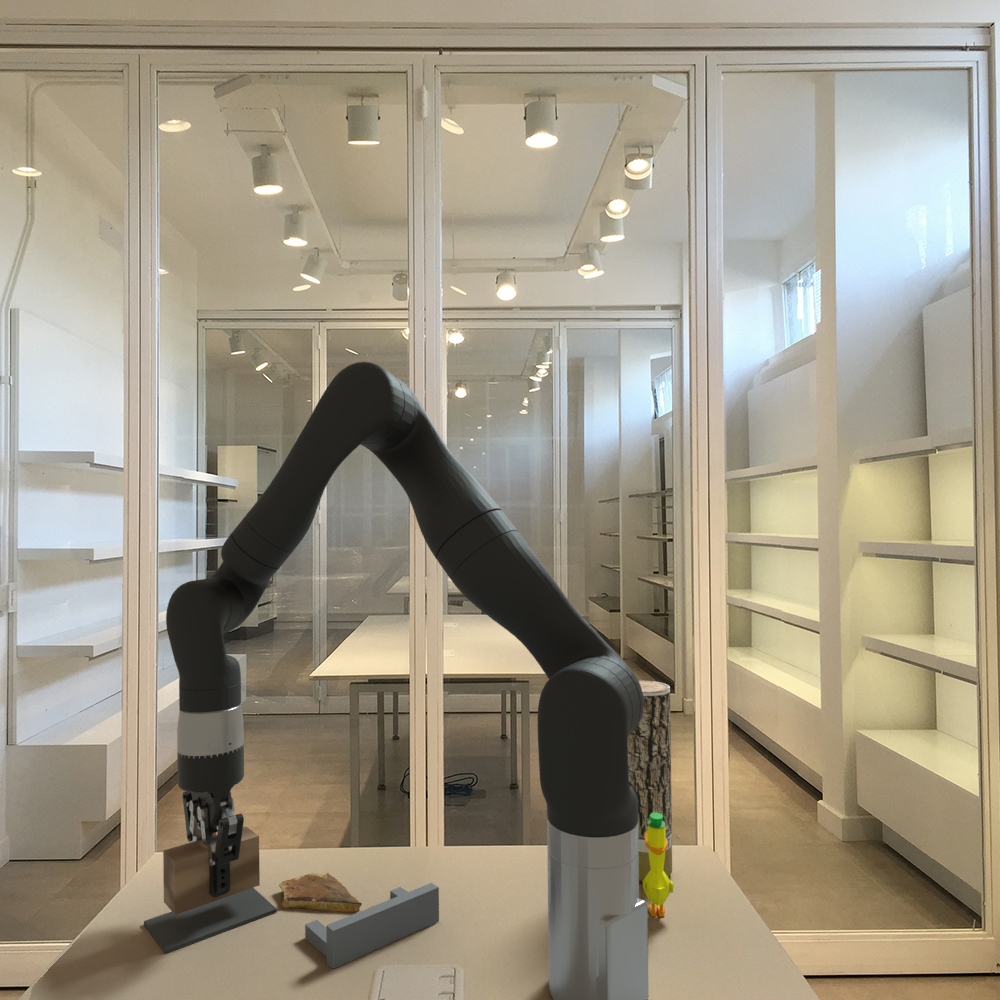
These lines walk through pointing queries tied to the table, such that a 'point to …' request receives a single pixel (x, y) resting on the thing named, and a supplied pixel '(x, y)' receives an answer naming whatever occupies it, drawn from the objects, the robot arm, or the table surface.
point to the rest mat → (208, 919)
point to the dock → (375, 925)
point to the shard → (318, 893)
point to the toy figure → (656, 865)
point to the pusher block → (206, 873)
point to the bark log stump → (652, 768)
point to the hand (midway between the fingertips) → (212, 886)
